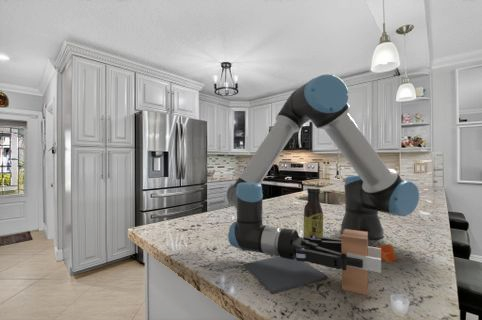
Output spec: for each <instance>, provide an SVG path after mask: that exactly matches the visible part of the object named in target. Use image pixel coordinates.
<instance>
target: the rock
mask: <svg viewBox="0 0 482 320" xmlns="http://www.w3.org/2000/svg"><path fill="white" fill-rule="evenodd" d="M376 248H381V262H386V263H391V262H393V261H395V260H397V256H396V254H395V251H394V250H395V249H394V246H393V244H386V245H381V244H379V245H376Z"/></svg>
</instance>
